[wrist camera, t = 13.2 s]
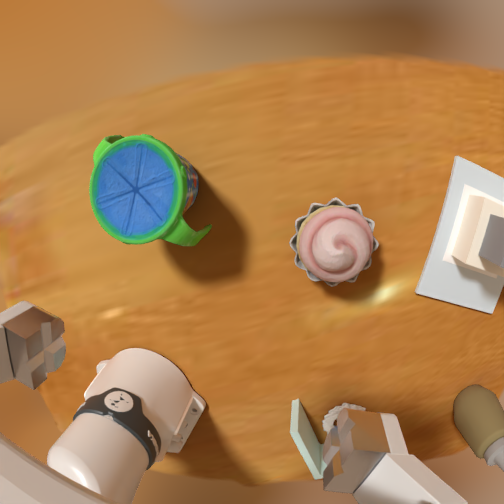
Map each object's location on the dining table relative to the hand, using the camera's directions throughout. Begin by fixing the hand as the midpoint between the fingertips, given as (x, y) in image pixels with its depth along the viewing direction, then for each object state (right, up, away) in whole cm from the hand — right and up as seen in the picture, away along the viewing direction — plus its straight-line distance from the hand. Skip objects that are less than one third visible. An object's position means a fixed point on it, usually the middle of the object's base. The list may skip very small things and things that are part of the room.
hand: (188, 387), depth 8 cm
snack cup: (-8, +12, +31) cm, 34 cm away
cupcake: (+11, +6, +30) cm, 32 cm away
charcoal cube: (+31, +5, +22) cm, 38 cm away
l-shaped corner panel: (+15, -21, +36) cm, 45 cm away
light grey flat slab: (+31, +5, +27) cm, 41 cm away
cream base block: (+31, +6, +26) cm, 41 cm away
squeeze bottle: (+37, -20, +33) cm, 54 cm away
